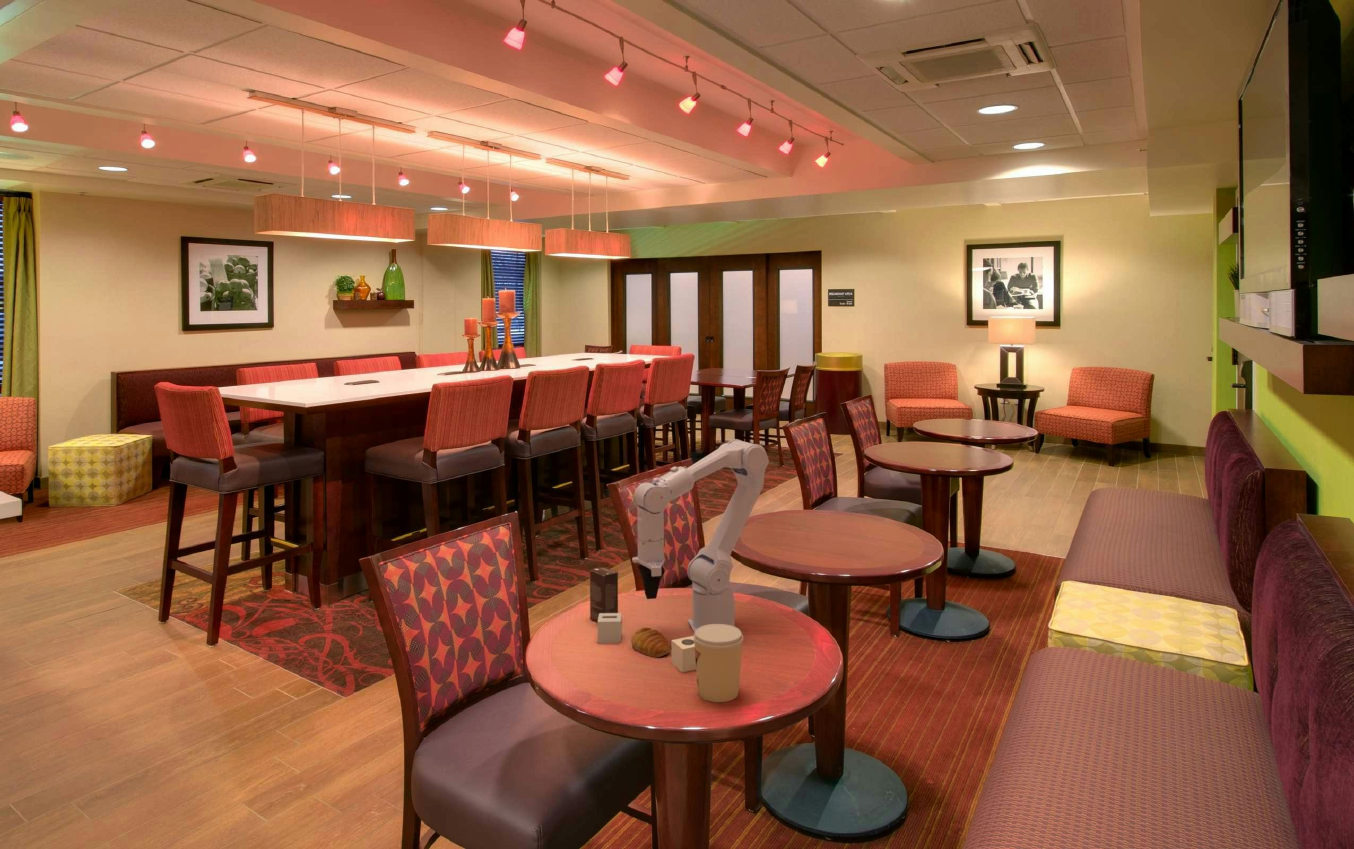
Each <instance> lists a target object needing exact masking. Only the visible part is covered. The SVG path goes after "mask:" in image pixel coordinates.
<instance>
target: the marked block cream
mask: <svg viewBox="0 0 1354 849" xmlns="http://www.w3.org/2000/svg"><path fill="white" fill-rule="evenodd" d="M671 664H672V665H673V666H675V667H676V668H677V669H678V670H679V671H680V672H682V673H687V672H690V671H696V660H695V643H694V635H691V636H687V637H680V638H676V639H671Z"/></svg>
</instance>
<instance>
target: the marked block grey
mask: <svg viewBox="0 0 1354 849" xmlns="http://www.w3.org/2000/svg"><path fill="white" fill-rule="evenodd" d="M622 625H623V624H622V612H618V613H599V617H598V622H597V644H621V643H622V637H623V636H622V635H623V634H622V633H623V632H622Z"/></svg>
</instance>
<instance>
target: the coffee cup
mask: <svg viewBox="0 0 1354 849" xmlns="http://www.w3.org/2000/svg"><path fill="white" fill-rule="evenodd" d="M693 636H694V643H695V660H696V670H695V672H696V687H697V694H698V696H699V697H700V698H701V699H703V700H705V701H708V702H712V703H727V702H730V701H733V700H734V699H736V698H737V697H738V695H739V690H740V689H739V688H740V679H741V678H740V676H741V665H742V652H743V641H744V635H743V633H742V631H741V630H740V628H738V627H736V626H735V627H734V626H731V625H726V624H709V625H704V626H701V627H699V628H698V629H697V630H696V631H695V633H694V632H693Z"/></svg>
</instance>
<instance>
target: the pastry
mask: <svg viewBox="0 0 1354 849" xmlns="http://www.w3.org/2000/svg"><path fill="white" fill-rule="evenodd" d="M631 644H632V646H633V648H634V650H636V651H637V652H639V653H641V654H643V655H646V656H648V657H655V658H659V657H663V656H665V655H669V652H670V650H671V647H670V644H669V641H668V640H667V638H666V636H664V635H663V634H662V632H660V631H658V630H657V629H652V628H650V627H642V628H639V629H638V630H637V631H636V632H634V634H633V635H632V638H631Z"/></svg>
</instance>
